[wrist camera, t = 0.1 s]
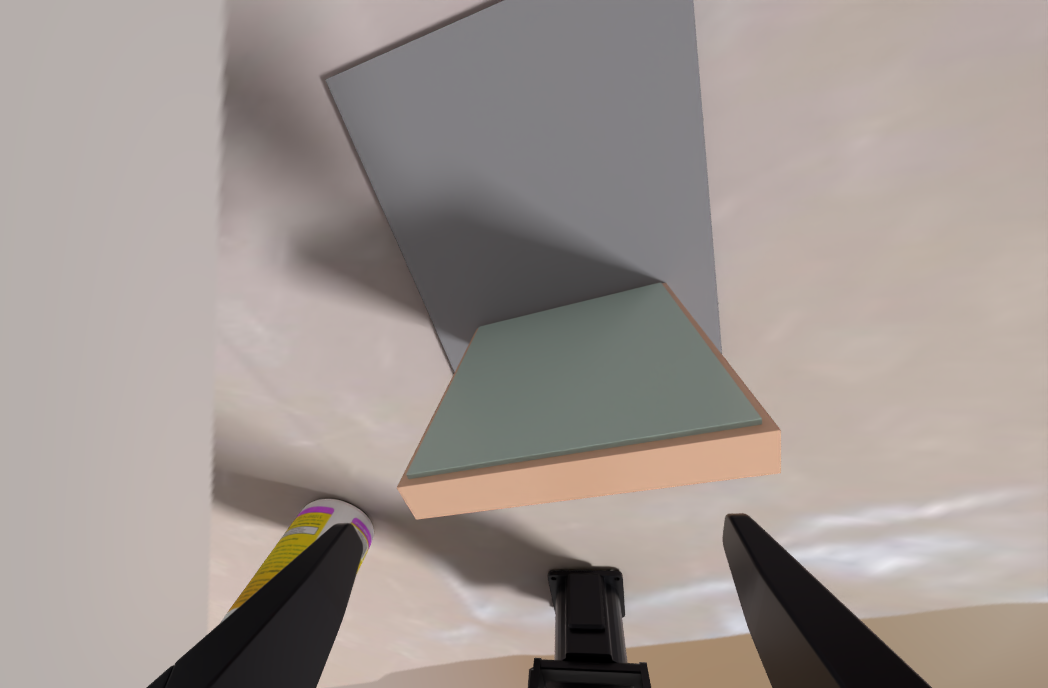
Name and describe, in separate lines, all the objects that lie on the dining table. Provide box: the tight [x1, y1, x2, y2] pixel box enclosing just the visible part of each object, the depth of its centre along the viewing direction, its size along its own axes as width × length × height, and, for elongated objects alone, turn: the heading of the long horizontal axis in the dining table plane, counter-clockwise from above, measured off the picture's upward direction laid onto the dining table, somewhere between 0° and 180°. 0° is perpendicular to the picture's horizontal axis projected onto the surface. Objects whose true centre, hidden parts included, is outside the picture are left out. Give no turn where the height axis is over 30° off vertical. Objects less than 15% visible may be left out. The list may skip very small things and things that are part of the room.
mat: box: [326, 0, 722, 372], centre depth 20 cm, size 20×16×1 cm
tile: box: [397, 282, 781, 520], centre depth 16 cm, size 2×11×12 cm, turn 107°
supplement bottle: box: [221, 499, 374, 622], centre depth 27 cm, size 7×7×13 cm
